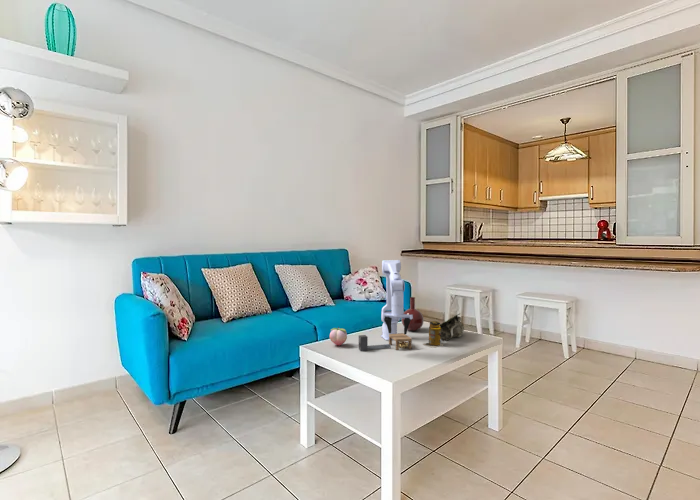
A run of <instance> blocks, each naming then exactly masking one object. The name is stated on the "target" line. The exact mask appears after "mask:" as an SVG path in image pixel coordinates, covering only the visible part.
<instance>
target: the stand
mask: <svg viewBox="0 0 700 500" xmlns="http://www.w3.org/2000/svg"><path fill="white" fill-rule="evenodd" d="M392 339H393V340H392ZM412 339H413V338H412V337H411V336H409V335H407V334H404V332H400V333H398V332H397V334H389V340H388V344H391V346H392V345H393V341H395V351H399V350H400V348H399V342H408V348H407V349H408V350H412V343H413V342H412Z"/></svg>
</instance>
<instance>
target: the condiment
mask: <svg viewBox="0 0 700 500" xmlns="http://www.w3.org/2000/svg"><path fill="white" fill-rule="evenodd" d="M440 324H441V322H440V321H436V320H432V321H430V322H429V327H428V342H426V343H423V345H424V346H426V347H429V348H432V349H433V348H437V347H443V346H444V344H443V343H441V340H442V339H441V328H440Z"/></svg>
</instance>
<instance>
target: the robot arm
mask: <svg viewBox="0 0 700 500" xmlns="http://www.w3.org/2000/svg"><path fill="white" fill-rule="evenodd" d="M401 268H402V262H401V260H400V259H390V260H389V259H386V260H385V259H383V260H382V261H381V274H382V275H383V276H385V279H386V281H385V282H386V285H385V286H386V304H385V305H384V306H383V307H382V308H381V316H380V318H381V322H383V323H382V327H381V333H382V335H380V337H381V338H382V339H384V340H385V341H389V334H398V322H399V321H401V320H402V319H404V326H403V327H404V328H403V329H404V330H403V333H404V334H405V335H407V333H408V330H407V329H408V326H409V323H410V321H411V319H413V315H409V314H403V313H404V292H405V288H406V287H405V280H404V279H402V276H401V274H400V272H401V270H402V269H401ZM392 341H394V340H393V339H392Z"/></svg>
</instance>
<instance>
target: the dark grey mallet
mask: <svg viewBox="0 0 700 500" xmlns="http://www.w3.org/2000/svg"><path fill="white" fill-rule="evenodd" d="M368 340H369V339H368V336H367V335H366V334H361V335H360V334H359V335H358V350H359V352H368V351H370V350H382V349H391V346H392V345H391V344H389V343H385V344H375V345H374V344H371V345H368V342H369V341H368Z"/></svg>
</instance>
